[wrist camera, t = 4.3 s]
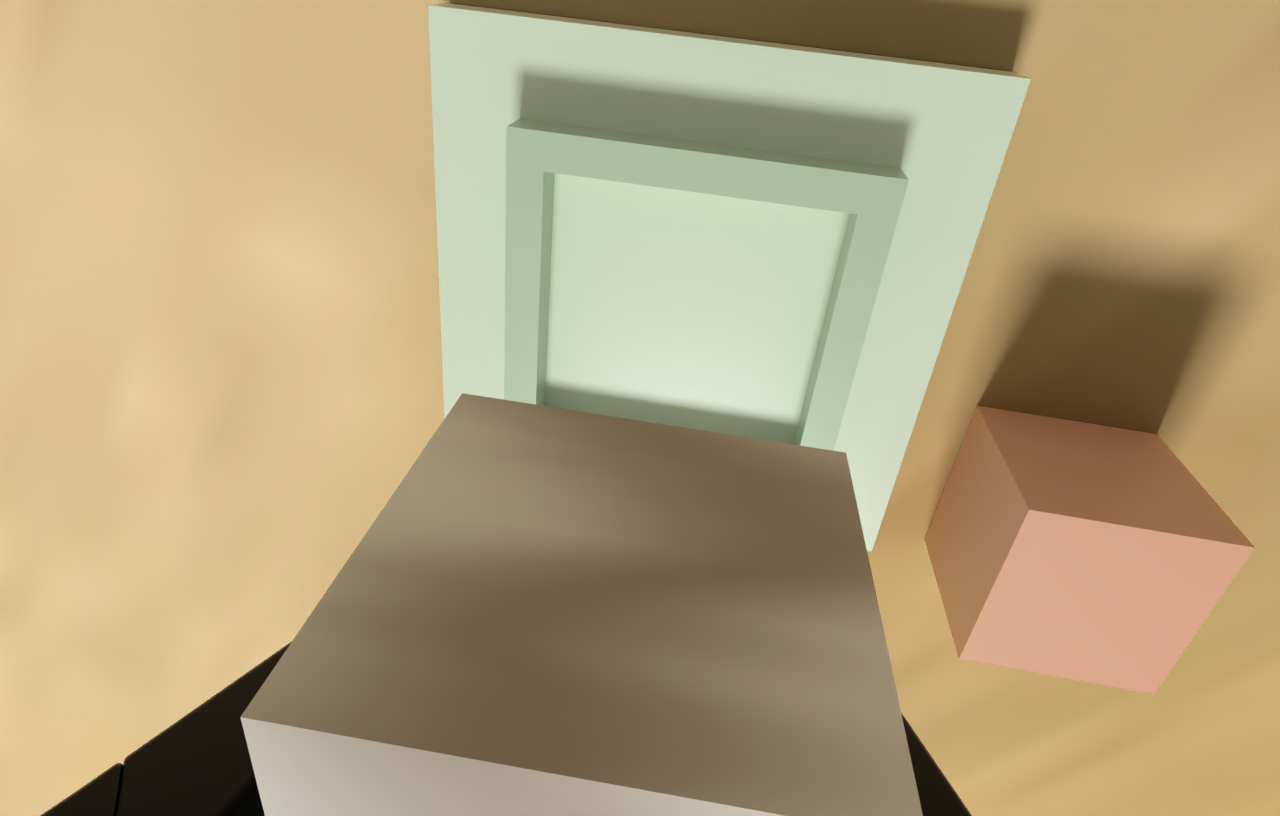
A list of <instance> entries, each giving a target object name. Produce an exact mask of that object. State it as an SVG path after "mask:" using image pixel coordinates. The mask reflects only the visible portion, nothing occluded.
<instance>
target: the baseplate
mask: <svg viewBox="0 0 1280 816" xmlns="http://www.w3.org/2000/svg"><path fill="white" fill-rule="evenodd" d="M428 13H429V38H430V64H431V89H432V115H433V140H434V166H435V191H436V217H437V242H438V268H439V293H440V319H441V344H442V369H443V395H444V419H445V418H446V416H447V415H448V413H449V412H450V410H451V409H452V407H453V406H454V405H455V403H456V402H457V400H458V399H459V397H460V396H461V394H462V393H464V394H471V395H477V396H484V397H490V398H497V399H503V400H510V401H516V402H522V403H529V404H535V405H542V406H548V407H555V408H561V409H568V410H574V411H581V412H587V413H593V414H600V415H606V416H613V417H619V418H626V419H632V420H639V421H645V422H651V423H658V424H664V425H671V426H677V427H684V428H690V429H697V430H703V431H710V432H716V433H722V434H729V435H735V436H742V437H748V438H755V439H761V440H768V441H774V442H780V443H787V444H793V445H800V446H806V447H813V448H819V449H826V450H832V451H839V452H845V453H846V455H847V460H848V464H849V469H850V474H851V478H852V483H853V488H854V493H855V497H856V502H857V507H858V511H859V516H860V521H861V526H862V530H863V535H864V540H865V545H866V549H867V551H871V552H872V549H873V546H874V543H875V540H876V537H877V534H878V531H879V528H880V525H881V522H882V519H883V516H884V513H885V510H886V507H887V504H888V501H889V498H890V495H891V492H892V490H893V487H894V484H895V481H896V478H897V475H898V472H899V469H900V466H901V463H902V460H903V457H904V454H905V451H906V448H907V445H908V442H909V439H910V436H911V433H912V430H913V427H914V424H915V421H916V418H917V415H918V412H919V409H920V406H921V404H922V401H923V398H924V395H925V392H926V389H927V386H928V383H929V380H930V377H931V374H932V371H933V368H934V365H935V362H936V359H937V356H938V353H939V350H940V347H941V344H942V341H943V338H944V335H945V332H946V329H947V326H948V323H949V321H950V318H951V315H952V312H953V309H954V306H955V303H956V300H957V297H958V294H959V291H960V288H961V285H962V282H963V279H964V276H965V273H966V270H967V267H968V264H969V261H970V258H971V255H972V252H973V249H974V246H975V243H976V240H977V237H978V235H979V232H980V229H981V226H982V223H983V220H984V217H985V214H986V211H987V208H988V205H989V202H990V199H991V196H992V193H993V190H994V187H995V184H996V181H997V178H998V175H999V172H1000V169H1001V166H1002V163H1003V160H1004V157H1005V154H1006V151H1007V149H1008V146H1009V143H1010V140H1011V137H1012V134H1013V131H1014V128H1015V125H1016V122H1017V119H1018V116H1019V113H1020V110H1021V107H1022V104H1023V101H1024V98H1025V95H1026V92H1027V89H1028V86H1029V83H1030V80H1031V79H1030V78H1027V77H1025V76H1022V75H1020V74H1017V73H1015V72H1010V71H1002V70H993V69H985V68H977V67H969V66H961V65H952V64H944V63H936V62H928V61H919V60H911V59H903V58H895V57H887V56H878V55H870V54H862V53H854V52H846V51H837V50H829V49H821V48H813V47H805V46H796V45H788V44H780V43H772V42H764V41H755V40H747V39H739V38H731V37H723V36H714V35H706V34H698V33H690V32H682V31H673V30H665V29H657V28H649V27H641V26H632V25H624V24H616V23H608V22H600V21H591V20H583V19H575V18H567V17H559V16H550V15H542V14H534V13H526V12H518V11H509V10H501V9H493V8H485V7H476V6H468V5H460V4H452V3H446V4H435V5H428Z"/></svg>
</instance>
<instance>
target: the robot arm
mask: <svg viewBox="0 0 1280 816" xmlns="http://www.w3.org/2000/svg"><path fill="white" fill-rule="evenodd" d="M290 644H291V642H290V643H289V644H288V645H286V646H285V647H283V648H282V649H280V650H279V651H277V652H276V653H275V654H273V655H272V656H270V657H269V658H267V659H266V660H265V661H263V662H262V663H260V664H259V665H257V666H256V667H255V668H253V669H252V670H250V671H249V672H247V673H246V674H245V675H243V676H242V677H240V678H239V679H237V680H236V681H235V682H233V683H232V684H230V685H229V686H227V687H226V688H224V689H223V690H222V691H220V692H219V693H217V694H216V695H214V696H213V697H212V698H210V699H209V700H207V701H206V702H204V703H203V704H202V705H200V706H199V707H197V708H196V709H194V710H193V711H192V712H190V713H189V714H187V715H186V716H184V717H183V718H181V719H180V720H179V721H177V722H176V723H174V724H173V725H171V726H170V727H169V728H167V729H166V730H164V731H163V732H161V733H160V734H159V735H157V736H156V737H154V738H153V739H151V740H150V741H149V742H147V743H146V744H144V745H143V746H141V747H140V748H138V749H137V750H136V751H134V752H133V753H131V754H130V755H128V756H127V757H126V758H125V760H124V765H123V764H121V763H117V764H115V765H114V766H112V767H111V768H109V769H108V770H107V771H105V772H104V773H102V774H101V775H99V776H98V777H96V778H95V779H94V780H92V781H91V782H89V783H88V784H86V785H85V786H84V787H82V788H81V789H79V790H78V791H76V792H75V793H73V794H72V795H70V796H69V797H67V798H66V799H64V800H63V801H61V802H60V803H58V804H57V805H55V806H54V807H52V808H51V809H49V810H48V811H46V812H45V813H43V814H42V815H41V816H265V815H264V810H263V806H262V802H261V798H260V794H259V790H258V786H257V782H256V778H255V774H254V770H253V766H252V762H251V758H250V754H249V750H248V746H247V742H246V738H245V734H244V730H243V726H242V722H241V718H240V717H241V715H242V714H243V713H244V711H245V710H246V708H247V707H248V705H249V704H250V702H251V701H252V699H253V698H254V696H255V695H256V694H257V692H258V691H259V689H260V688H261V686H262V685H263V683H264V682H265V680H266V679H267V677H268V676H269V675H270V673H271V672H272V670H273V669H274V667H275V666H276V664H277V663H278V661H279V660H280V659H281V657H282V656H283V654H284V653H285V651H286V650H287V648H288V647H289V645H290ZM901 715H902V719H903V724H904V729H905V733H906V738H907V743H908V748H909V752H910V757H911V762H912V766H913V771H914V776H915V781H916V785H917V790H918V795H919V799H920V804H921V809H922V814H923V816H972V815H971V814H970V812H969V811H968V809H967V808H966V807H965V805H964V804H963V802H962V801H961V799H960V798H959V796H958V795H957V793H956V792H955V790H954V789H953V788H952V786H951V785H950V783H949V782H948V780H947V779H946V777H945V776H944V774H943V773H942V771H941V770H940V769H939V767H938V766H937V764H936V763H935V761H934V760H933V758H932V757H931V755H930V754H929V752H928V751H927V750H926V748H925V747H924V745H923V744H922V742H921V741H920V739H919V738H918V736H917V735H916V733H915V732H914V731H913V729H912V728H911V726H910V725H909V723H908V722H907V720H906V719H905V717H904V716H903V714H902V713H901Z"/></svg>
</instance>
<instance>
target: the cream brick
mask: <svg viewBox="0 0 1280 816" xmlns="http://www.w3.org/2000/svg"><path fill="white" fill-rule="evenodd" d="M240 718H241V722H242V726H243V730H244V734H245V738H246V742H247V746H248V750H249V754H250V758H251V762H252V766H253V770H254V774H255V778H256V782H257V786H258V790H259V794H260V798H261V802H262V806H263V810H264V815H265V816H923V814H922V809H921V804H920V799H919V795H918V790H917V785H916V781H915V776H914V771H913V766H912V762H911V757H910V752H909V748H908V743H907V738H906V733H905V729H904V724H903V719H902V715H901V710H900V705H899V700H898V696H897V691H896V686H895V681H894V677H893V672H892V667H891V663H890V658H889V653H888V648H887V644H886V639H885V634H884V630H883V625H882V620H881V615H880V611H879V606H878V601H877V596H876V592H875V587H874V582H873V578H872V573H871V568H870V563H869V559H868V554H867V549H866V545H865V540H864V535H863V530H862V526H861V521H860V516H859V511H858V507H857V502H856V497H855V493H854V488H853V483H852V478H851V474H850V469H849V464H848V460H847V455H846V453H845V452H839V451H832V450H826V449H819V448H813V447H806V446H800V445H793V444H787V443H780V442H774V441H768V440H761V439H755V438H748V437H742V436H735V435H729V434H722V433H716V432H710V431H703V430H697V429H690V428H684V427H677V426H671V425H664V424H658V423H651V422H645V421H639V420H632V419H626V418H619V417H613V416H606V415H600V414H593V413H587V412H581V411H574V410H568V409H561V408H555V407H548V406H542V405H535V404H529V403H522V402H516V401H510V400H503V399H497V398H490V397H484V396H477V395H471V394H464V393H462V394H461V396H460V397H459V399H458V400H457V402H456V403H455V405H454V406H453V407H452V409H451V410H450V412H449V413H448V415H447V416H446V418H445V419H444V421H443V422H442V424H441V425H440V426H439V428H438V429H437V431H436V432H435V434H434V435H433V437H432V438H431V440H430V441H429V443H428V444H427V445H426V447H425V448H424V450H423V451H422V453H421V454H420V456H419V457H418V459H417V460H416V461H415V463H414V464H413V466H412V467H411V469H410V470H409V472H408V473H407V475H406V476H405V478H404V479H403V480H402V482H401V483H400V485H399V486H398V488H397V489H396V491H395V492H394V494H393V495H392V497H391V498H390V499H389V501H388V502H387V504H386V505H385V507H384V508H383V510H382V511H381V513H380V514H379V515H378V517H377V518H376V520H375V521H374V523H373V524H372V526H371V527H370V529H369V530H368V532H367V533H366V534H365V536H364V537H363V539H362V540H361V542H360V543H359V545H358V546H357V548H356V549H355V551H354V552H353V553H352V555H351V556H350V558H349V559H348V561H347V562H346V564H345V565H344V567H343V568H342V569H341V571H340V572H339V574H338V575H337V577H336V578H335V580H334V581H333V583H332V584H331V586H330V587H329V588H328V590H327V591H326V593H325V594H324V596H323V597H322V599H321V600H320V602H319V603H318V605H317V606H316V607H315V609H314V610H313V612H312V613H311V615H310V616H309V618H308V619H307V621H306V622H305V623H304V625H303V626H302V628H301V629H300V631H299V632H298V634H297V635H296V637H295V638H294V640H293V641H292V642H291V644H290V645H289V647H288V648H287V650H286V651H285V653H284V654H283V656H282V657H281V659H280V660H279V661H278V663H277V664H276V666H275V667H274V669H273V670H272V672H271V673H270V675H269V676H268V677H267V679H266V680H265V682H264V683H263V685H262V686H261V688H260V689H259V691H258V692H257V694H256V695H255V696H254V698H253V699H252V701H251V702H250V704H249V705H248V707H247V708H246V710H245V711H244V713H243V714H242V715H241V717H240Z"/></svg>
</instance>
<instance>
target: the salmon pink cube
mask: <svg viewBox="0 0 1280 816" xmlns="http://www.w3.org/2000/svg"><path fill="white" fill-rule="evenodd" d="M925 542H926V546H927V549H928V553H929V556H930V560H931V563H932V567H933V570H934V574H935V577H936V581H937V584H938V587H939V591H940V594H941V598H942V601H943V605H944V608H945V612H946V615H947V619H948V622H949V626H950V629H951V633H952V636H953V639H954V643H955V646H956V650H957V653H958V657H959V659H963V660H969V661H974V662H980V663H985V664H991V665H996V666H1001V667H1007V668H1012V669H1018V670H1023V671H1029V672H1034V673H1040V674H1045V675H1051V676H1056V677H1062V678H1067V679H1072V680H1078V681H1083V682H1089V683H1094V684H1100V685H1105V686H1111V687H1116V688H1122V689H1127V690H1133V691H1138V692H1143V693H1149V694H1155V693H1156V691H1157V690H1158V688H1159V687H1160V685H1161V684H1162V683H1163V681H1164V680H1165V678H1166V677H1167V675H1168V674H1169V672H1170V671H1171V669H1172V668H1173V666H1174V665H1175V664H1176V662H1177V661H1178V659H1179V658H1180V656H1181V655H1182V653H1183V652H1184V650H1185V649H1186V648H1187V646H1188V645H1189V643H1190V642H1191V640H1192V639H1193V637H1194V636H1195V634H1196V633H1197V632H1198V630H1199V629H1200V627H1201V626H1202V624H1203V623H1204V621H1205V620H1206V618H1207V617H1208V615H1209V614H1210V613H1211V611H1212V610H1213V608H1214V607H1215V605H1216V604H1217V602H1218V601H1219V599H1220V598H1221V597H1222V595H1223V594H1224V592H1225V591H1226V589H1227V588H1228V586H1229V585H1230V583H1231V582H1232V580H1233V579H1234V578H1235V576H1236V575H1237V573H1238V572H1239V570H1240V569H1241V567H1242V566H1243V564H1244V563H1245V562H1246V560H1247V559H1248V557H1249V556H1250V554H1251V553H1252V551H1253V550H1254V548H1255V547H1254V546H1253V545H1252V544H1251V543H1250V541H1249V540H1248V539H1247V538H1246V537H1245V536H1244V534H1243V533H1242V532H1241V531H1240V530H1239V529H1238V528H1237V526H1236V525H1235V524H1234V523H1233V522H1232V521H1231V519H1230V518H1229V517H1228V516H1227V515H1226V514H1225V512H1224V511H1223V510H1222V509H1221V508H1220V507H1219V506H1218V504H1217V503H1216V502H1215V501H1214V500H1213V499H1212V497H1211V496H1210V495H1209V494H1208V493H1207V492H1206V490H1205V489H1204V488H1203V487H1202V486H1201V485H1200V483H1199V482H1198V481H1197V480H1196V479H1195V478H1194V477H1193V475H1192V474H1191V473H1190V472H1189V471H1188V470H1187V468H1186V467H1185V466H1184V465H1183V464H1182V463H1181V461H1180V460H1179V459H1178V458H1177V457H1176V456H1175V454H1174V453H1173V452H1172V451H1171V450H1170V449H1169V448H1168V446H1167V445H1166V444H1165V443H1164V442H1163V441H1162V439H1161V438H1160V437H1159V436H1158V435H1157V434H1153V433H1147V432H1141V431H1135V430H1128V429H1122V428H1116V427H1109V426H1103V425H1097V424H1091V423H1084V422H1078V421H1072V420H1066V419H1059V418H1053V417H1047V416H1040V415H1034V414H1028V413H1022V412H1015V411H1009V410H1003V409H997V408H990V407H984V406H978V405H977V407H976V409H975V412H974V414H973V417H972V419H971V422H970V424H969V427H968V430H967V432H966V435H965V437H964V440H963V442H962V445H961V447H960V450H959V453H958V455H957V458H956V460H955V463H954V465H953V468H952V470H951V473H950V476H949V478H948V481H947V483H946V486H945V488H944V491H943V493H942V496H941V498H940V501H939V504H938V506H937V509H936V511H935V514H934V516H933V519H932V521H931V524H930V527H929V529H928V532H927V534H926V537H925Z"/></svg>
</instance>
